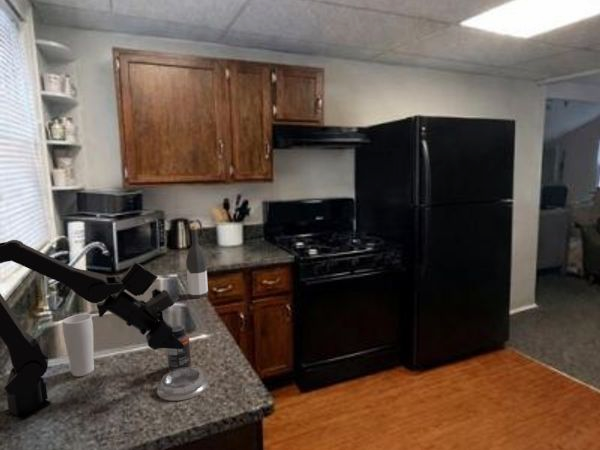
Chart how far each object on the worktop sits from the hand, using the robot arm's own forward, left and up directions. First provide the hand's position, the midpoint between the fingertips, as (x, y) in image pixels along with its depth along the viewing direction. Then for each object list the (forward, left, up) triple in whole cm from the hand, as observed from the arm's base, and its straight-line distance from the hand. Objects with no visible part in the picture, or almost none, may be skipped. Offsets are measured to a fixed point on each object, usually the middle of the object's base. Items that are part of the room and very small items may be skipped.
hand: (178, 340), depth 103 cm
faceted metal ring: (-7, -7, -8) cm, 13 cm away
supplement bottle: (0, 0, -8) cm, 8 cm away
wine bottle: (+52, +35, -8) cm, 63 cm away
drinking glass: (-11, +23, -8) cm, 27 cm away
